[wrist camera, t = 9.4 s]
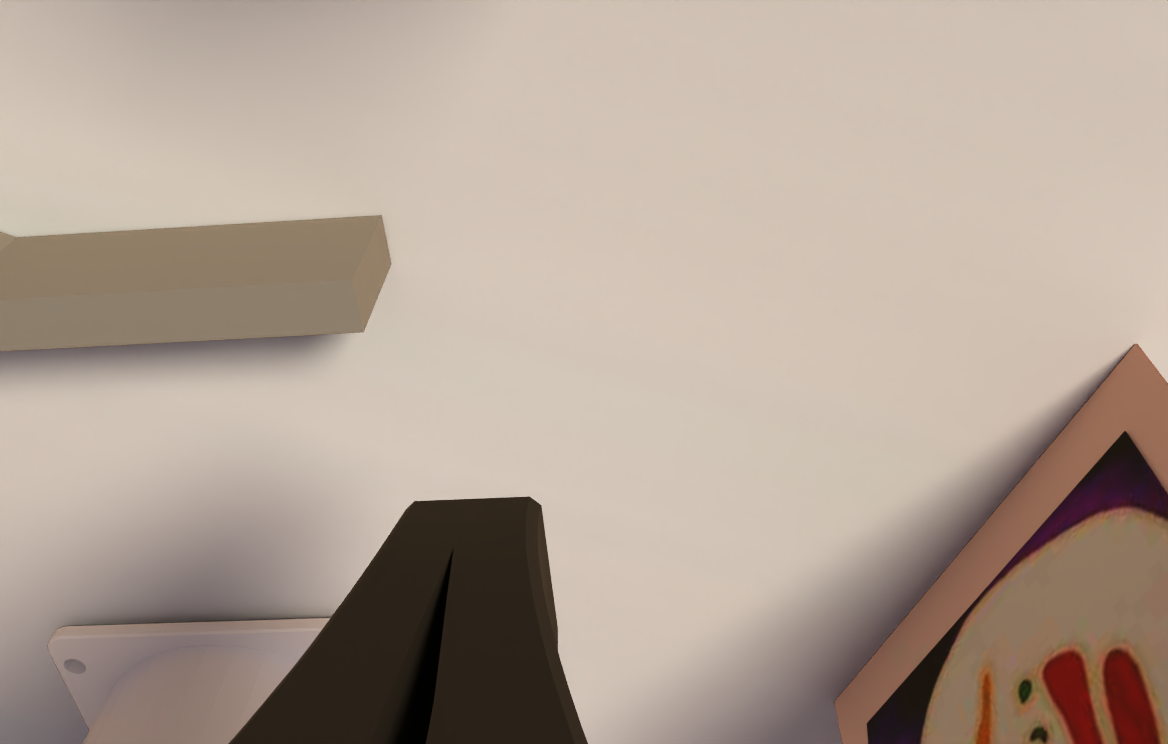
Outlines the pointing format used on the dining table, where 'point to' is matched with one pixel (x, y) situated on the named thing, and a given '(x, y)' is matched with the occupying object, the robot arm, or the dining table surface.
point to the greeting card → (1045, 600)
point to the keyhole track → (191, 283)
